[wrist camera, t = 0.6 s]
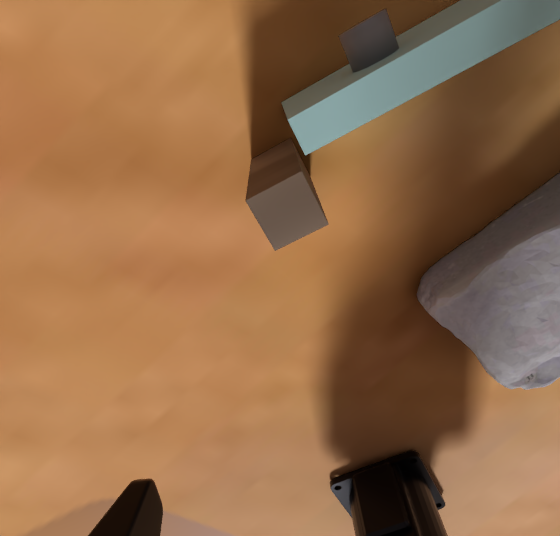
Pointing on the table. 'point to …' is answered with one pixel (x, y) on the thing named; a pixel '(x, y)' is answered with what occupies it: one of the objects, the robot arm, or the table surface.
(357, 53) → the gate
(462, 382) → the table surface
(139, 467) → the table surface
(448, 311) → the stone block
